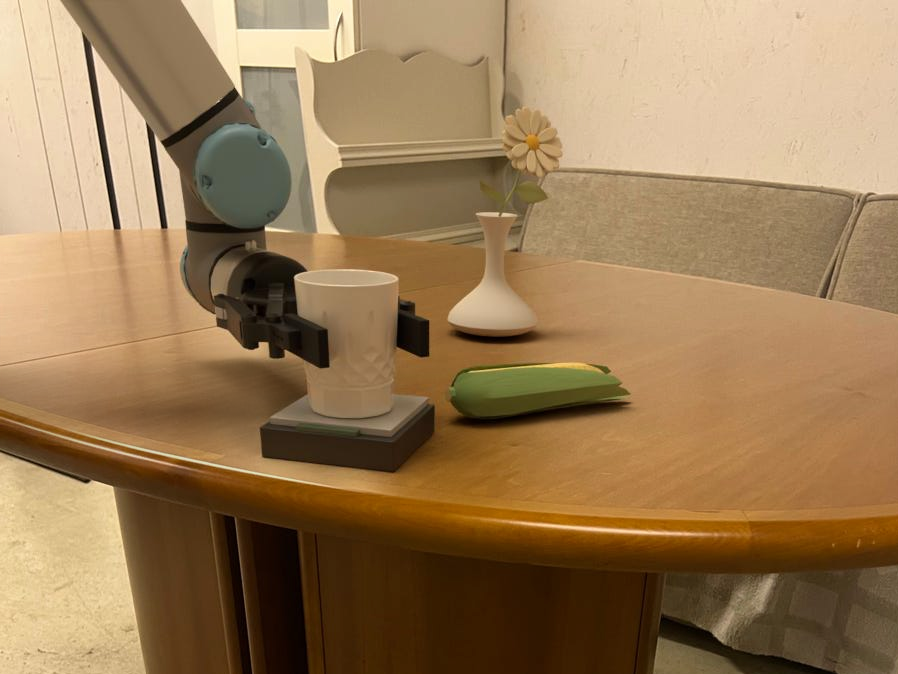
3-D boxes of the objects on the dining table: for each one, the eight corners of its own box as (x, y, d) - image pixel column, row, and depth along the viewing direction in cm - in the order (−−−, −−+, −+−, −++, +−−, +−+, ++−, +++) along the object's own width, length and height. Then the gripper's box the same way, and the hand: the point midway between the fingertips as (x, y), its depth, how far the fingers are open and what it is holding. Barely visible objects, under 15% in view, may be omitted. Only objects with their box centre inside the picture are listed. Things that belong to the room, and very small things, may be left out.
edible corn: (435, 415, 84) (435, 364, 82) (615, 395, 93) (620, 348, 91) (460, 431, 81) (461, 378, 78) (646, 408, 89) (652, 360, 87)
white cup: (328, 427, 70) (321, 288, 65) (286, 401, 76) (277, 272, 71) (418, 413, 74) (417, 281, 69) (372, 390, 80) (368, 267, 75)
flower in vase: (453, 344, 111) (457, 103, 99) (441, 324, 121) (444, 103, 108) (559, 343, 113) (576, 108, 101) (539, 325, 123) (552, 107, 110)
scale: (394, 472, 71) (393, 434, 69) (261, 456, 73) (258, 419, 72) (434, 431, 80) (435, 397, 79) (316, 419, 82) (314, 385, 81)
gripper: (146, 255, 79) (236, 300, 62) (364, 246, 88) (493, 282, 72) (159, 346, 82) (247, 411, 66) (367, 327, 92) (490, 379, 75)
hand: (375, 343), depth 69 cm, fingers closed on white cup, 8 cm apart
